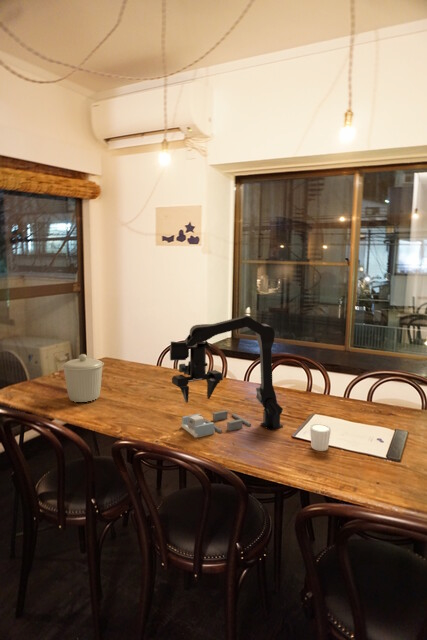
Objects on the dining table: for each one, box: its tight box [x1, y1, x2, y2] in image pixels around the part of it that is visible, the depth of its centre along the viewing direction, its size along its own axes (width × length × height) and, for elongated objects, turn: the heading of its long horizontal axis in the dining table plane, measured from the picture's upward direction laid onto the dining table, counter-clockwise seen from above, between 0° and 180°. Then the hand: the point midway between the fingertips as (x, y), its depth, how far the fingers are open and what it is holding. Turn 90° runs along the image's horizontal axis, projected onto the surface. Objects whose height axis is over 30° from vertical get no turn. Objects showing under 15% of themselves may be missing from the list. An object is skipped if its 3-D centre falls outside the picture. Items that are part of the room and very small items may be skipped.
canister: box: [61, 353, 105, 403], centre depth 191 cm, size 18×18×21 cm
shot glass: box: [309, 423, 332, 452], centre depth 145 cm, size 7×7×7 cm
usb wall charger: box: [188, 415, 207, 430], centre depth 159 cm, size 4×7×4 cm, turn 133°
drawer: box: [181, 413, 216, 439], centre depth 159 cm, size 11×8×4 cm
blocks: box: [204, 409, 252, 434], centre depth 165 cm, size 12×14×3 cm
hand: (197, 400), depth 157 cm, fingers open, 9 cm apart
